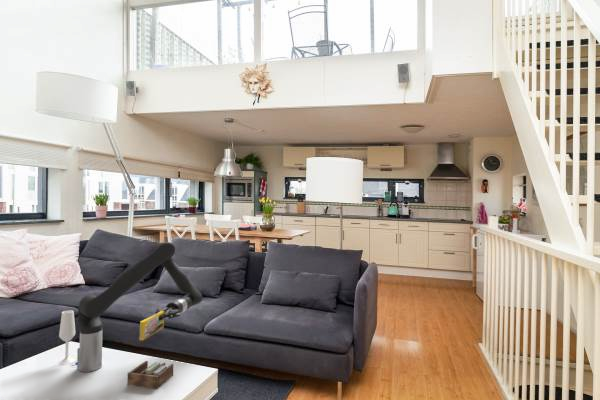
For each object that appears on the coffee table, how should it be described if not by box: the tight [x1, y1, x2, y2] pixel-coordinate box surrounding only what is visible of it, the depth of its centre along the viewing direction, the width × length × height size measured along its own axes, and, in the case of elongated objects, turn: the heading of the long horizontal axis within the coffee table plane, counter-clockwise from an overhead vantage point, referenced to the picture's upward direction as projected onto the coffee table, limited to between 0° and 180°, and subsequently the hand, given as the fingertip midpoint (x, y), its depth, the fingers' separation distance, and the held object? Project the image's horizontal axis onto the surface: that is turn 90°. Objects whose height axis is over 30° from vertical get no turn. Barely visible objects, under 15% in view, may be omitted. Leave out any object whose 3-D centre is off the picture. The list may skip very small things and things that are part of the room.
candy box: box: [138, 311, 165, 342], centre depth 166 cm, size 16×2×8 cm, turn 168°
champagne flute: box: [58, 309, 76, 365], centre depth 176 cm, size 7×7×24 cm
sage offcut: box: [146, 361, 161, 375], centre depth 160 cm, size 2×8×6 cm, turn 168°
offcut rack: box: [126, 360, 174, 390], centre depth 159 cm, size 14×12×5 cm
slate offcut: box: [153, 365, 168, 376], centre depth 158 cm, size 2×7×6 cm, turn 168°
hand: (157, 318), depth 170 cm, fingers closed on candy box, 2 cm apart
